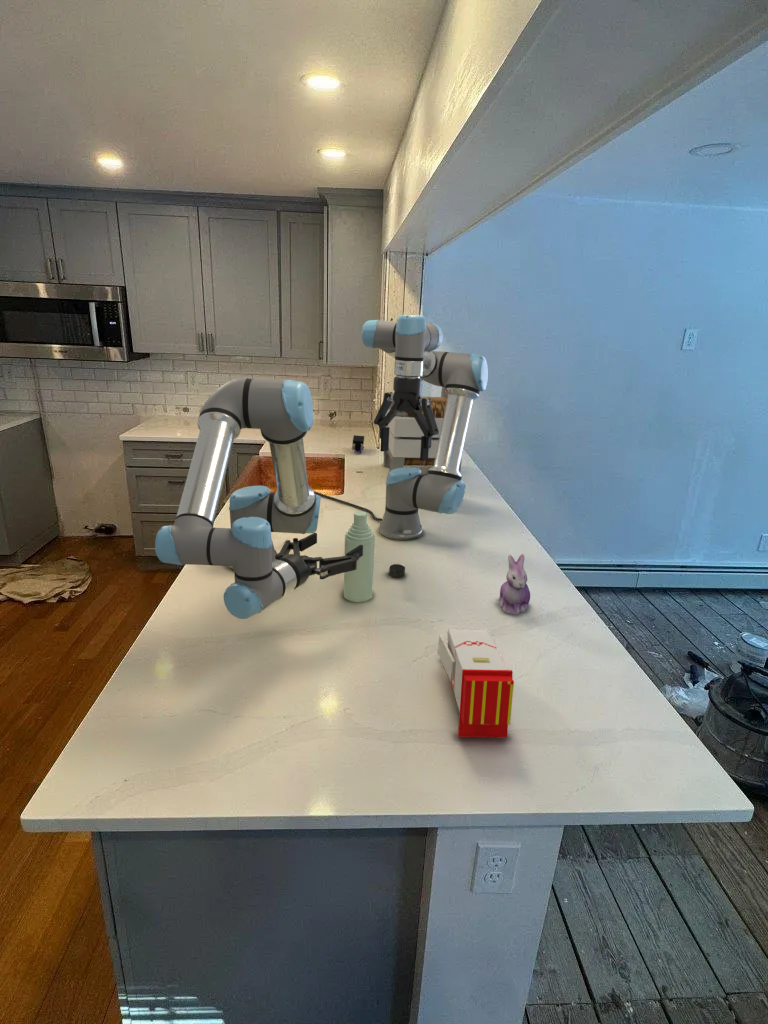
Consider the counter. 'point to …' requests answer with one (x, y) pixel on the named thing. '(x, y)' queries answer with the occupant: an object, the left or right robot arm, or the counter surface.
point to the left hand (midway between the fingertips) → (338, 543)
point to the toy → (478, 682)
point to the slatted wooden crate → (413, 436)
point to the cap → (397, 571)
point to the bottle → (360, 560)
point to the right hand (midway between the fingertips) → (403, 455)
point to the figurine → (515, 588)
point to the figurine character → (358, 443)
